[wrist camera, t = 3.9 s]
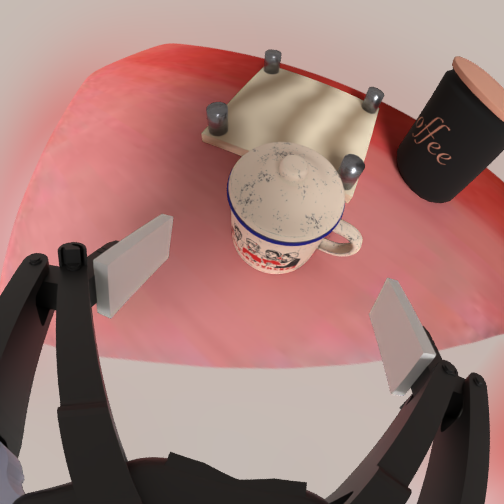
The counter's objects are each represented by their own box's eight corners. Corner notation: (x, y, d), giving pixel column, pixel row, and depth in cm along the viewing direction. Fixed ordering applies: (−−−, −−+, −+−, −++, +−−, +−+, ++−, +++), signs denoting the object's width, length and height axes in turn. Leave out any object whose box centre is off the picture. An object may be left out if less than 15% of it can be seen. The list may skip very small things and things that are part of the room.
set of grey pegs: (376, 108, 35) (384, 92, 32) (350, 193, 29) (362, 175, 26) (267, 65, 37) (269, 48, 34) (204, 132, 31) (202, 111, 28)
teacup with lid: (213, 251, 28) (198, 186, 17) (254, 183, 31) (262, 103, 20) (323, 306, 26) (377, 273, 15) (352, 230, 29) (403, 168, 18)
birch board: (375, 114, 37) (378, 108, 35) (347, 203, 30) (352, 196, 29) (265, 71, 39) (266, 64, 37) (202, 141, 32) (201, 133, 31)
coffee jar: (389, 137, 35) (441, 43, 18) (443, 158, 35) (502, 83, 18) (397, 195, 31) (477, 95, 14) (456, 215, 31) (538, 142, 14)
